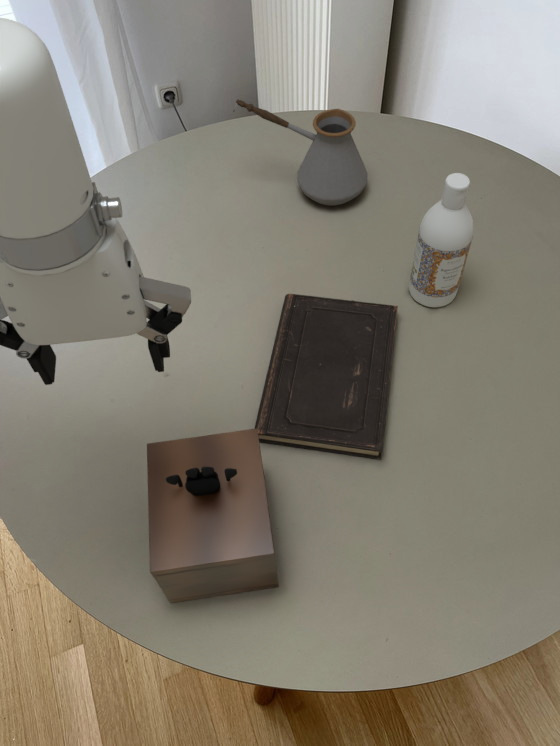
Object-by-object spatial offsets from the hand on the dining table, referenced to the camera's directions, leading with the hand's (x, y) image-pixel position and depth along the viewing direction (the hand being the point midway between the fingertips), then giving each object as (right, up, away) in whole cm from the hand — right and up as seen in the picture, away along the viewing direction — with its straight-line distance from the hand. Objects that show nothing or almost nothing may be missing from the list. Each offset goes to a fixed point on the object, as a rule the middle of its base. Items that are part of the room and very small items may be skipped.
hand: (105, 365), depth 58 cm
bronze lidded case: (+9, -19, +17) cm, 27 cm away
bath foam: (+38, +11, +37) cm, 54 cm away
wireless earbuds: (+8, -13, +8) cm, 18 cm away
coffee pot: (+19, +30, +51) cm, 62 cm away
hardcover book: (+22, -1, +29) cm, 37 cm away
